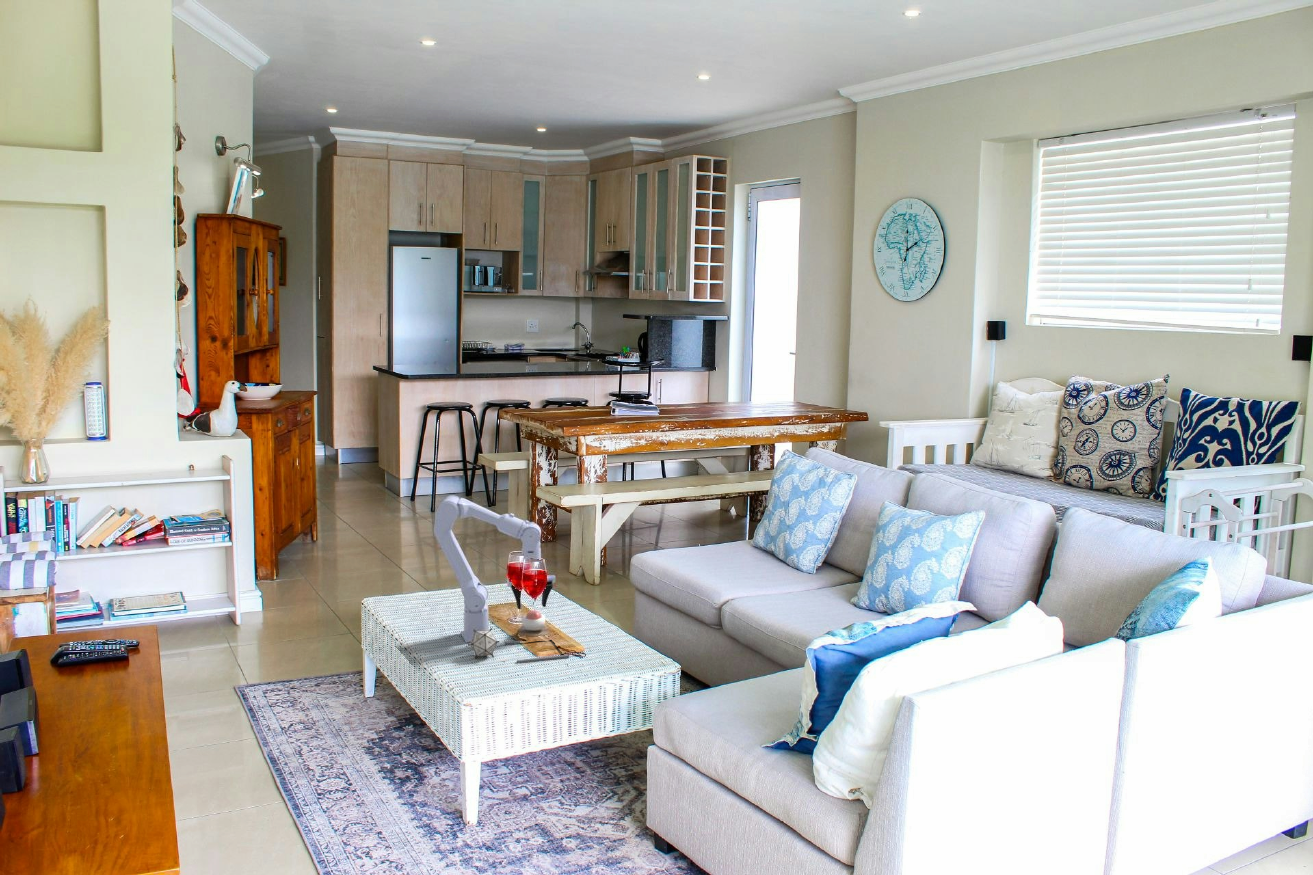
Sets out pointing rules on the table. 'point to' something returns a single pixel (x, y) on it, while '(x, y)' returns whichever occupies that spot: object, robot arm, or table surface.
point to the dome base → (533, 632)
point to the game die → (483, 643)
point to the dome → (533, 621)
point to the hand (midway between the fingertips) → (531, 607)
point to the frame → (536, 658)
